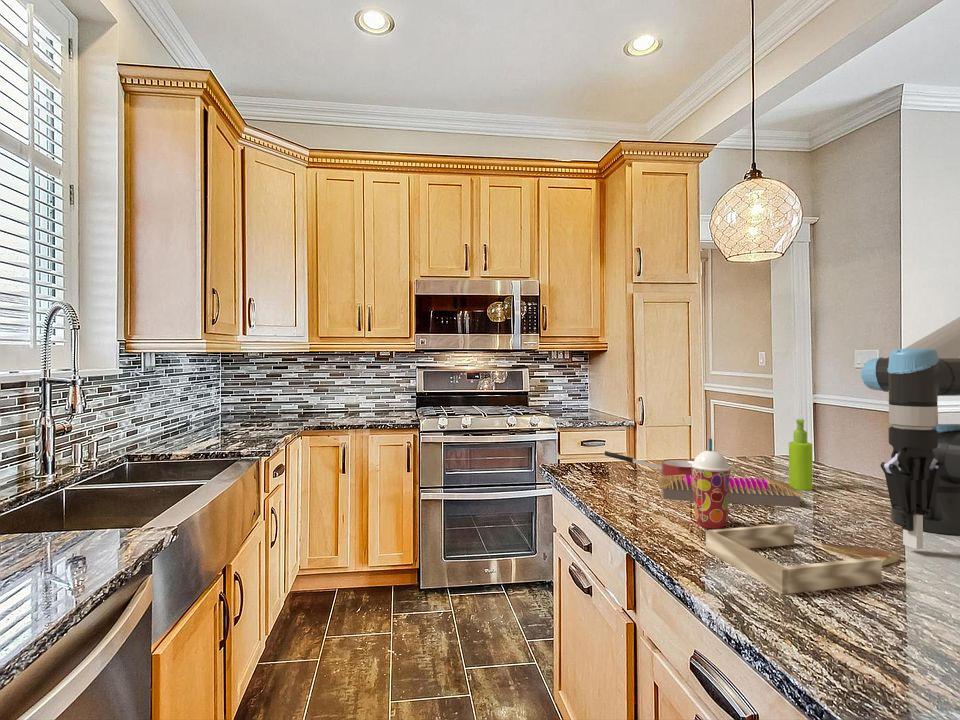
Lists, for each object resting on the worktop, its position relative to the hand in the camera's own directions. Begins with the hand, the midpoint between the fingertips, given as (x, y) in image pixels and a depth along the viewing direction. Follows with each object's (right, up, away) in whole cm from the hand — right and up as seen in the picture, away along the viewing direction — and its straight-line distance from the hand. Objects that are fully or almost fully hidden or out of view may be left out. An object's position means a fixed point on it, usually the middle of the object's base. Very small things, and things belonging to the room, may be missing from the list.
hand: (912, 546), depth 105 cm
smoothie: (-32, -2, +18) cm, 37 cm away
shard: (-12, -2, -2) cm, 12 cm away
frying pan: (-28, -2, +72) cm, 77 cm away
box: (-28, -2, -6) cm, 29 cm away
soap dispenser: (+9, -1, +52) cm, 53 cm away
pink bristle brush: (-17, -2, +42) cm, 46 cm away
